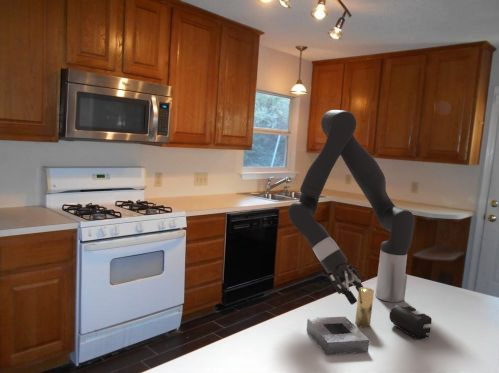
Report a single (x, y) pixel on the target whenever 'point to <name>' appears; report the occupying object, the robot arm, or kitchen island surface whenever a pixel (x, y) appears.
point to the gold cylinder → (364, 307)
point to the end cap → (410, 321)
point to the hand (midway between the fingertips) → (360, 299)
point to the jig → (337, 335)
